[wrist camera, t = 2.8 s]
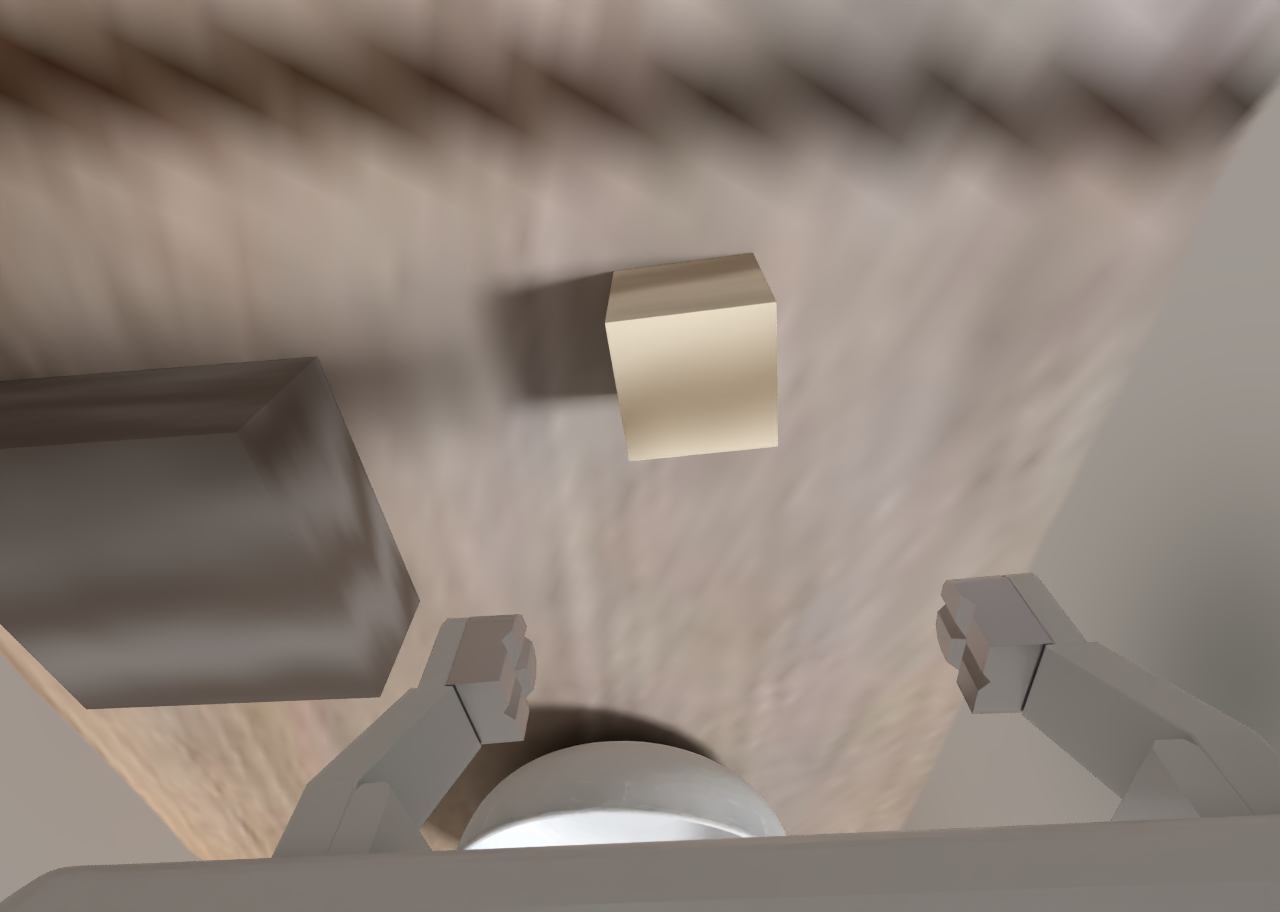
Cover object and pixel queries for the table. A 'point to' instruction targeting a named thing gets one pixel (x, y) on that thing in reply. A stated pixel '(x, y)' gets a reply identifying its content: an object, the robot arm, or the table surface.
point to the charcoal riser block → (196, 538)
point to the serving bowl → (618, 800)
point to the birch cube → (694, 357)
